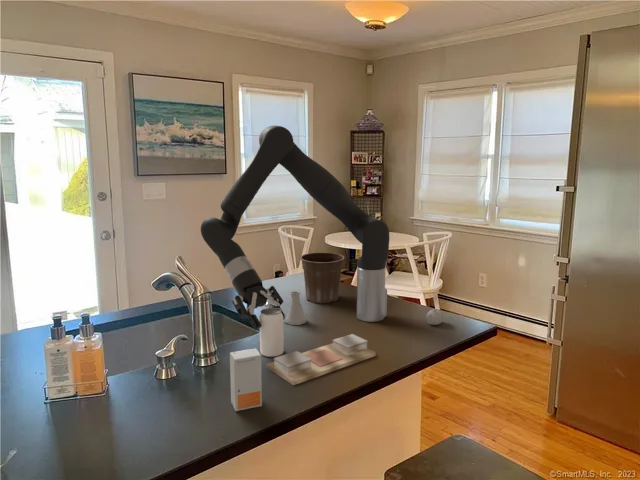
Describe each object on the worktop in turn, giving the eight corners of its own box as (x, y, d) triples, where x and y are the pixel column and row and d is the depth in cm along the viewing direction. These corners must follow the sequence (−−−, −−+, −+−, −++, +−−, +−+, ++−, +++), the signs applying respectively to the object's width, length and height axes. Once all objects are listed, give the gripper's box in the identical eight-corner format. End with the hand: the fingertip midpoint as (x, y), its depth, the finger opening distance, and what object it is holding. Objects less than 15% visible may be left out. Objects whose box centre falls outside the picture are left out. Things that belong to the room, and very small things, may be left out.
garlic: (436, 328, 149) (436, 312, 149) (421, 324, 153) (422, 308, 153) (447, 324, 153) (447, 308, 152) (433, 319, 157) (433, 304, 156)
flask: (280, 324, 154) (280, 294, 152) (290, 317, 160) (289, 288, 158) (301, 327, 151) (300, 296, 149) (310, 319, 158) (310, 290, 156)
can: (280, 358, 128) (279, 315, 126) (257, 356, 129) (255, 314, 127) (286, 349, 134) (285, 308, 132) (264, 347, 135) (263, 306, 133)
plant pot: (344, 305, 172) (345, 261, 169) (299, 305, 172) (299, 261, 169) (343, 292, 188) (343, 252, 185) (302, 292, 188) (301, 252, 185)
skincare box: (235, 412, 102) (233, 359, 99) (230, 403, 105) (228, 352, 103) (263, 406, 104) (261, 354, 102) (257, 397, 108) (256, 347, 106)
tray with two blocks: (346, 342, 139) (346, 330, 138) (375, 355, 130) (375, 343, 129) (266, 367, 123) (266, 354, 122) (293, 385, 113) (293, 371, 113)
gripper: (228, 273, 128) (257, 324, 123) (268, 264, 139) (296, 310, 133) (217, 288, 133) (244, 338, 127) (256, 278, 143) (283, 324, 138)
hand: (271, 324), depth 130 cm, fingers open, 8 cm apart
